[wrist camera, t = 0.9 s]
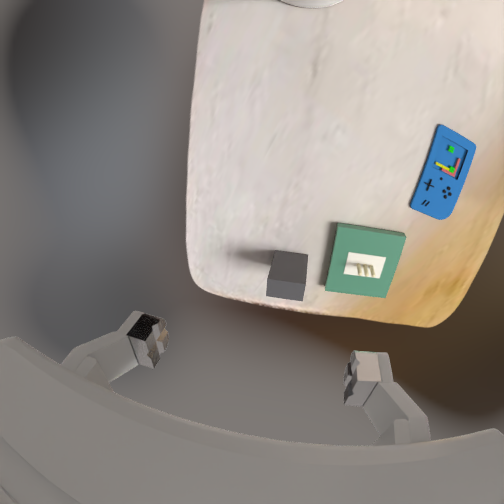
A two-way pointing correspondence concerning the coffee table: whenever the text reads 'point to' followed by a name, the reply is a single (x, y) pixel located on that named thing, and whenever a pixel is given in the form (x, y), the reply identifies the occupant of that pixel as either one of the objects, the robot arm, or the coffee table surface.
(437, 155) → the handheld gaming device
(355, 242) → the board
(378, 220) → the coffee table surface
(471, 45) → the coffee table surface
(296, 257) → the block
